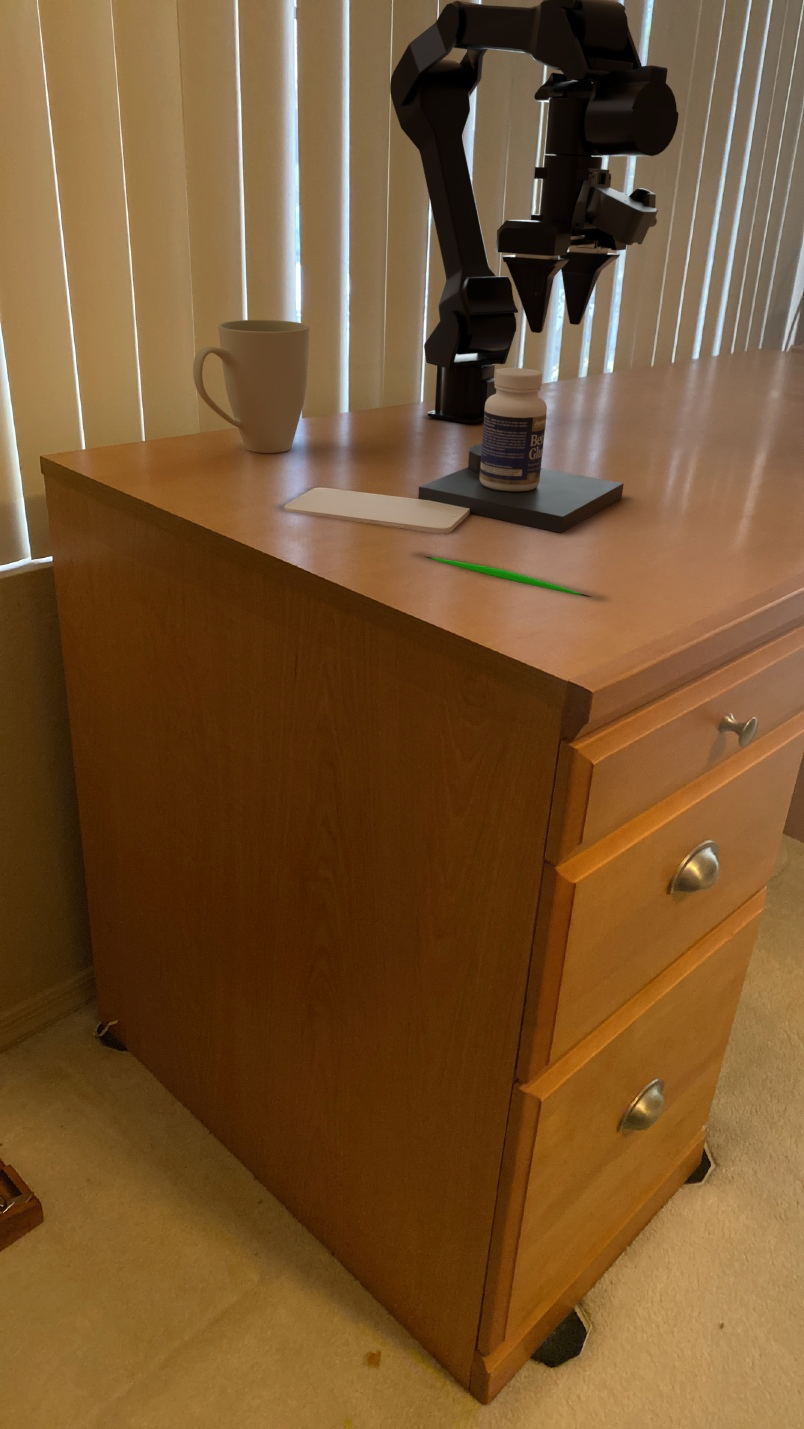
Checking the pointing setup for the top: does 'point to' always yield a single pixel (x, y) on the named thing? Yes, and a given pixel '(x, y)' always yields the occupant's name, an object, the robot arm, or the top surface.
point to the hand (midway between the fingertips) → (556, 328)
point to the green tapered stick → (506, 575)
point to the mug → (261, 379)
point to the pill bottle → (513, 431)
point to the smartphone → (379, 509)
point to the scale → (525, 496)
